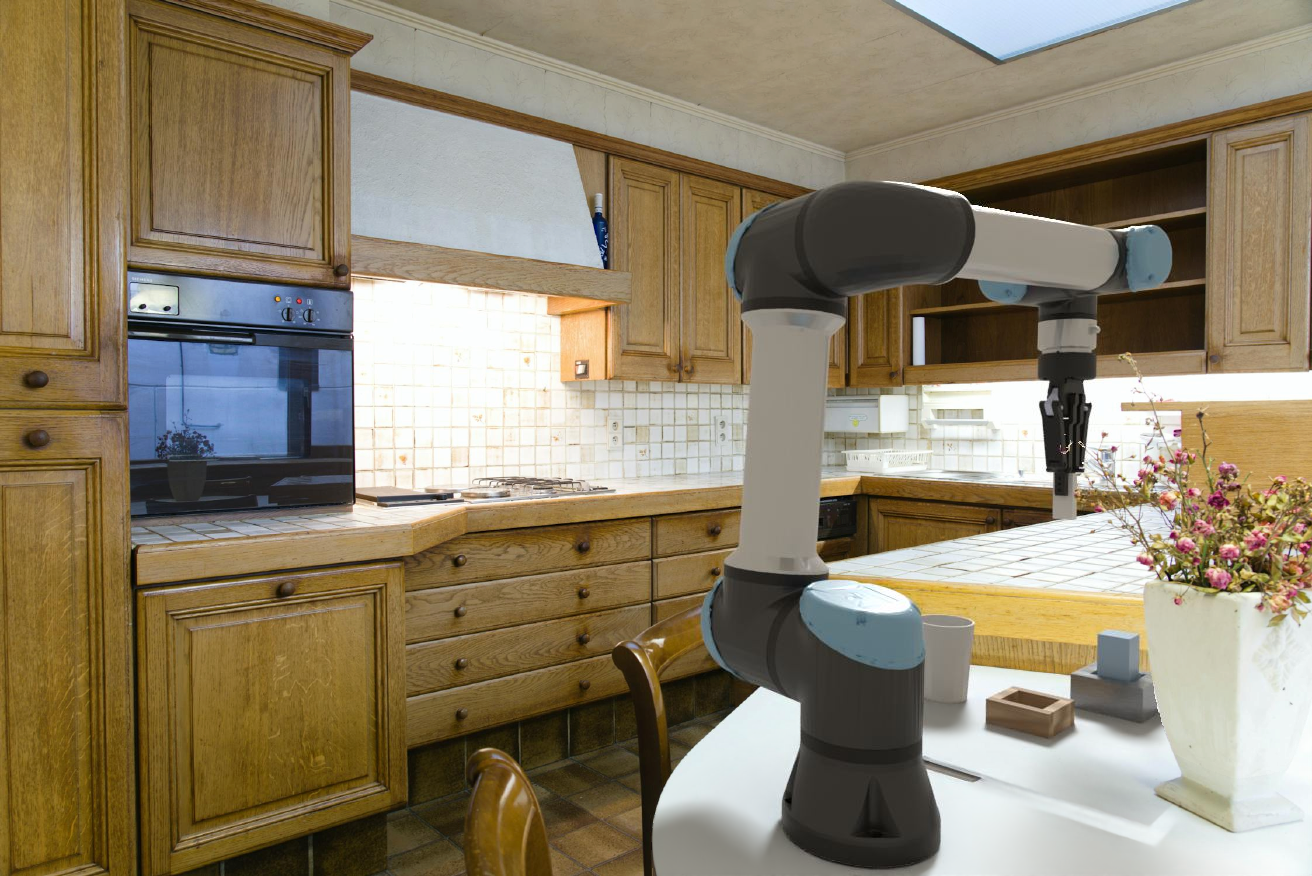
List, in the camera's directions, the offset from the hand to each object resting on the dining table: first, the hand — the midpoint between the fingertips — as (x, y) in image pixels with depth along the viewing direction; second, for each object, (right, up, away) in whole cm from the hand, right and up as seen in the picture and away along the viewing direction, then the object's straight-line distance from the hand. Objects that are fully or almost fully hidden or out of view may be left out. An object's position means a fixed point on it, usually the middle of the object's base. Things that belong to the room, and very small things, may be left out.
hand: (1064, 518), depth 122 cm
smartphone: (-26, -27, -19) cm, 42 cm away
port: (+5, -26, -5) cm, 27 cm away
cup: (-17, -27, 0) cm, 32 cm away
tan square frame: (-10, -26, -11) cm, 30 cm away
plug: (+5, -25, -5) cm, 26 cm away
